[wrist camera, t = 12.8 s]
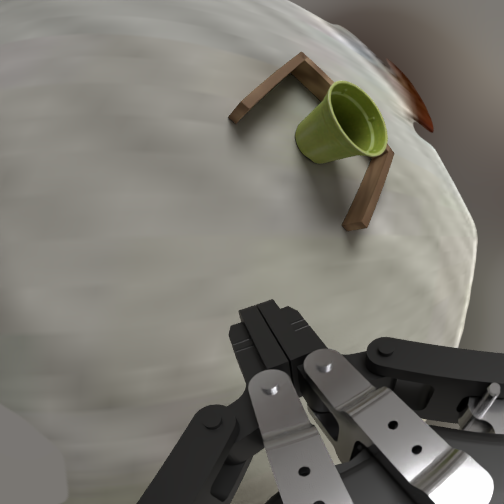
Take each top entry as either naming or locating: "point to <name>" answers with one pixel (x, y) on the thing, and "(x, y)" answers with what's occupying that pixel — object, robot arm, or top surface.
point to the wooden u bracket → (319, 87)
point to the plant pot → (342, 126)
